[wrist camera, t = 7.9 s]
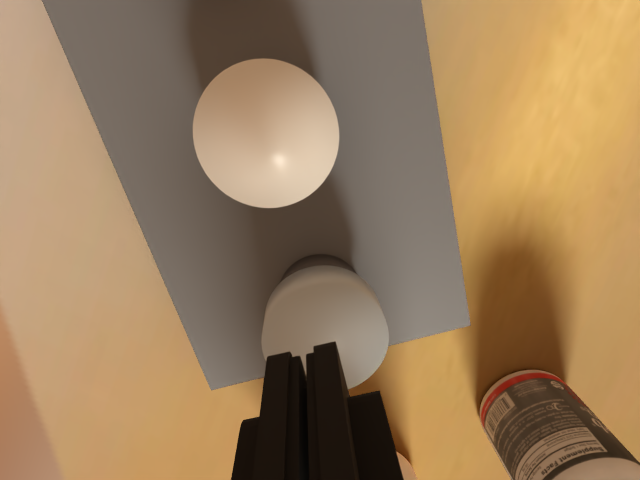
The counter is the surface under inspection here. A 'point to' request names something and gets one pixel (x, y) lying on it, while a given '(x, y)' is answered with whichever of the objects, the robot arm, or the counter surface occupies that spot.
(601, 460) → the pill bottle
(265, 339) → the bluegrey button
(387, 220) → the button panel
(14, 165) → the counter surface
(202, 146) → the white button
